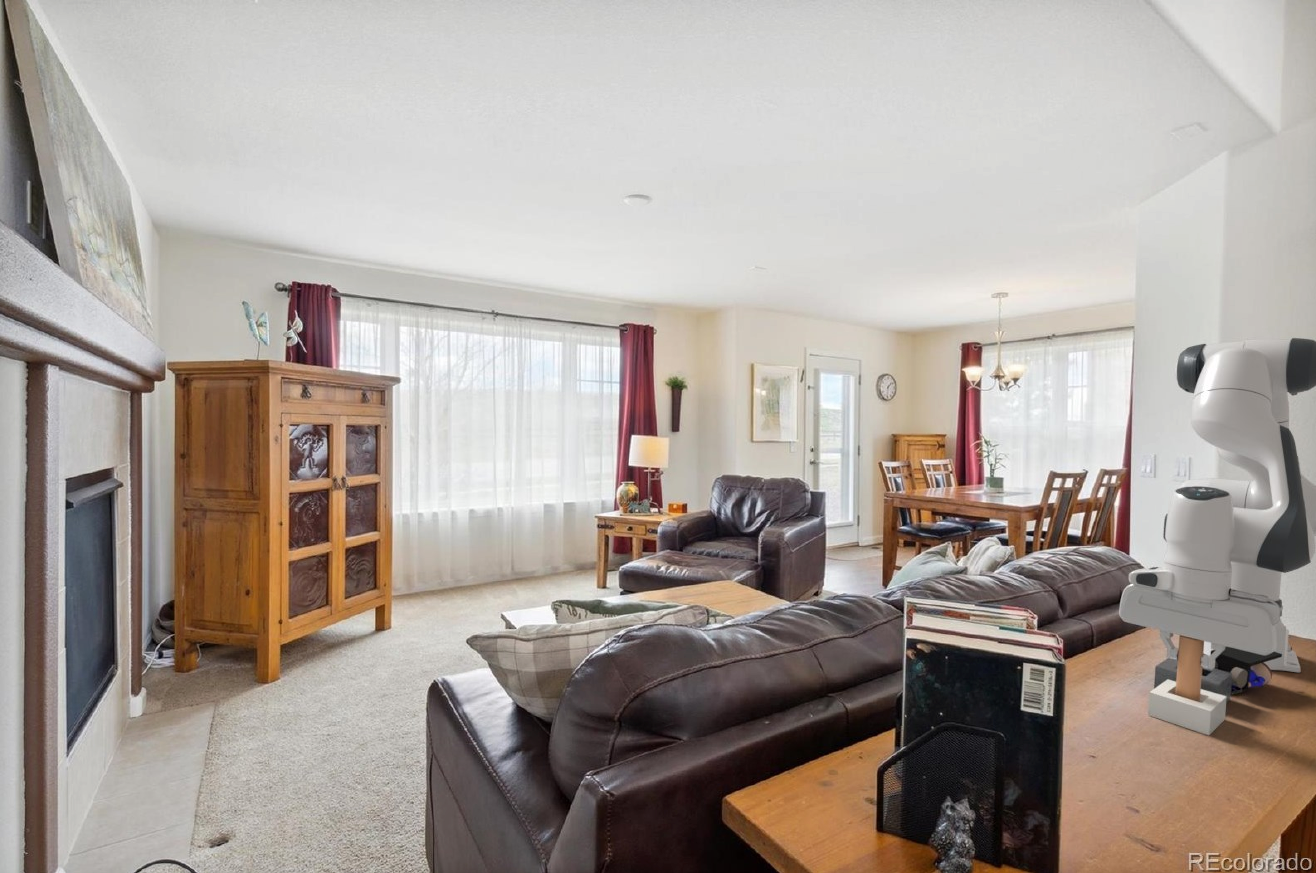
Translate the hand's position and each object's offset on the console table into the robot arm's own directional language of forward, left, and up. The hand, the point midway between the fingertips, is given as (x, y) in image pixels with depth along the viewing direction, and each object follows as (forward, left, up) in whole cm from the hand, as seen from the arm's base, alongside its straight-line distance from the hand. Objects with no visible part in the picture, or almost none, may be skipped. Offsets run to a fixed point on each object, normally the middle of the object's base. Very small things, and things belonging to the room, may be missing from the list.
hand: (1190, 662), depth 105 cm
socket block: (0, 0, -9) cm, 9 cm away
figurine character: (-26, +2, -10) cm, 28 cm away
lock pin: (0, 0, -8) cm, 8 cm away
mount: (-12, -2, -9) cm, 15 cm away
